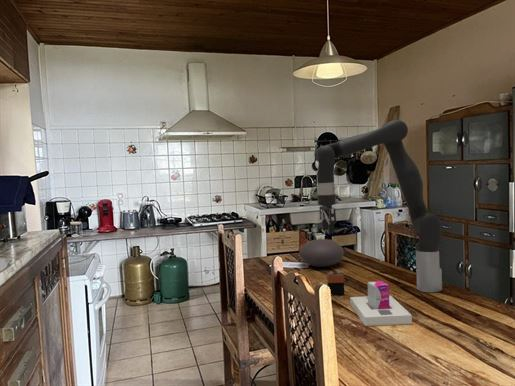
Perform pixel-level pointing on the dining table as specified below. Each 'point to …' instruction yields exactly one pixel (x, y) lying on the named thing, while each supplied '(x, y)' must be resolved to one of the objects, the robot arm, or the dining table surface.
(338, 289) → the battery
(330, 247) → the smooth stone
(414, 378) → the dining table surface
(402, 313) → the light grey flat block
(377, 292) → the supplement box
